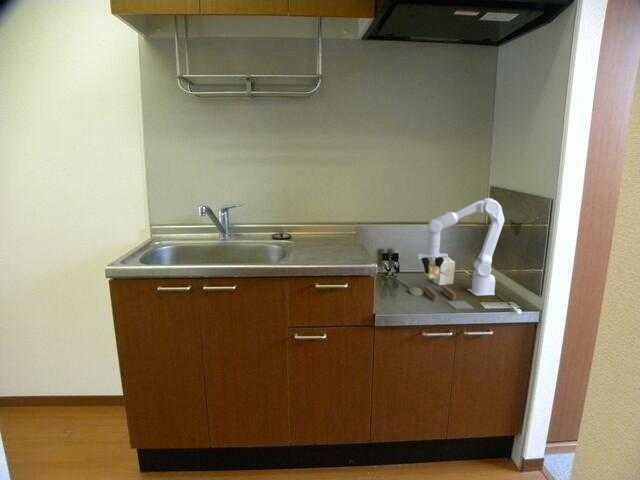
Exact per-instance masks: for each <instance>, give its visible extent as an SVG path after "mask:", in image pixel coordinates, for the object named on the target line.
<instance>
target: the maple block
mask: <svg viewBox="0 0 640 480" xmlns="http://www.w3.org/2000/svg"><path fill="white" fill-rule="evenodd" d="M424 275H425V276H426V277H427V278H428V279H430V278H439V267H437V266H436V265H434V264H432V263H429V268H428V274H426V273H425V272H424Z"/></svg>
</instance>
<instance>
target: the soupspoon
mask: <svg viewBox="0 0 640 480" xmlns="http://www.w3.org/2000/svg"><path fill="white" fill-rule="evenodd" d="M397 282H401V283H403V284H405V285H406V286H408V287H409V288H408V291H409V293H410V294H411V295H413V296H422V295H424V294H425V293H424V290H423V289H421V288H420V287H417V286H412V285H410V284H408V283H407V282H405V281H403V280H402V279H401V278H397Z"/></svg>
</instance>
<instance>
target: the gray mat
mask: <svg viewBox="0 0 640 480" xmlns="http://www.w3.org/2000/svg"><path fill="white" fill-rule="evenodd" d="M446 302H447V304H448V305H449V306H451V307H452V308H453V309H455V310H473V309H474V306H472V305H470V304H469V303H468V302H467V301H465V300H450V301H449V300H448V301H446Z"/></svg>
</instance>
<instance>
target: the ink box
mask: <svg viewBox="0 0 640 480" xmlns="http://www.w3.org/2000/svg"><path fill="white" fill-rule="evenodd" d="M443 259H444V262H443V263H442V265H441V266H440V268H439V278H429V281H431V282H433V283H434V284H437V285H438V286H447V285H454V279H455V270H456V261H454V260H452V258H451V257H449V256H448V258H443ZM431 264H434V265H435V258H431Z"/></svg>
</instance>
